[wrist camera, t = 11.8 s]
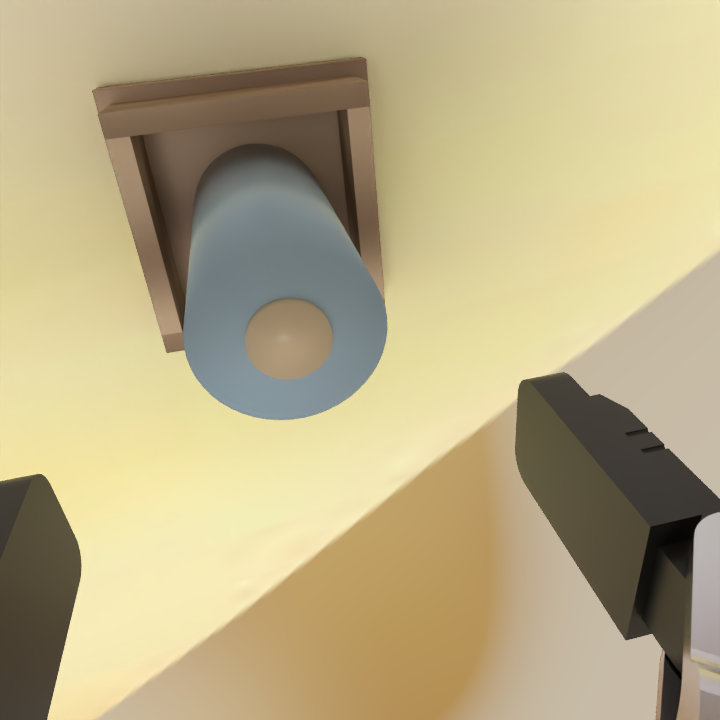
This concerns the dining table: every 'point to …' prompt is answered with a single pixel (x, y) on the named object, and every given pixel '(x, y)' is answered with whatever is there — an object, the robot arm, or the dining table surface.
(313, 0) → the dining table surface
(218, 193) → the roll
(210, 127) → the holder
